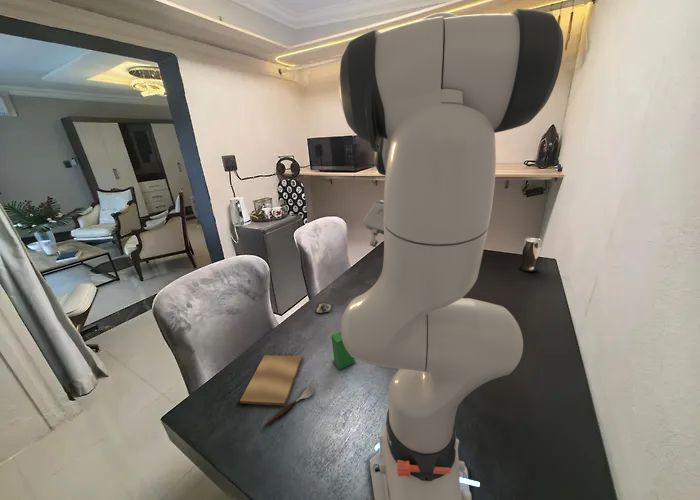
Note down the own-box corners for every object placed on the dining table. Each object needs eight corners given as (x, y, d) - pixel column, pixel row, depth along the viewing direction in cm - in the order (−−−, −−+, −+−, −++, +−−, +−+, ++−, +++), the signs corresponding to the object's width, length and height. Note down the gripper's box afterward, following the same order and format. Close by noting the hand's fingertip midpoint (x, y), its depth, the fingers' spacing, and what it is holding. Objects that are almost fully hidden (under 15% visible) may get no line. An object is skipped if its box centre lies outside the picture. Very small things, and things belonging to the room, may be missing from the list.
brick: (339, 369, 77) (336, 342, 73) (334, 361, 80) (331, 335, 76) (354, 362, 79) (352, 336, 75) (348, 355, 82) (346, 329, 78)
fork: (261, 425, 63) (259, 419, 62) (314, 383, 73) (313, 377, 72) (266, 432, 61) (264, 426, 60) (320, 388, 71) (319, 383, 70)
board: (284, 405, 67) (284, 403, 66) (240, 403, 68) (239, 400, 68) (301, 358, 82) (301, 356, 81) (264, 357, 83) (264, 355, 83)
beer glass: (515, 268, 128) (521, 239, 122) (524, 264, 130) (530, 236, 125) (529, 273, 122) (536, 243, 116) (539, 270, 124) (546, 240, 119)
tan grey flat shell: (316, 315, 102) (316, 311, 101) (313, 304, 109) (313, 301, 108) (333, 312, 103) (333, 308, 103) (329, 301, 111) (329, 297, 110)
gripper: (373, 193, 75) (351, 234, 72) (444, 214, 67) (423, 261, 64) (377, 204, 81) (357, 243, 78) (443, 224, 72) (423, 268, 70)
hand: (387, 251), depth 71 cm, fingers open, 8 cm apart
